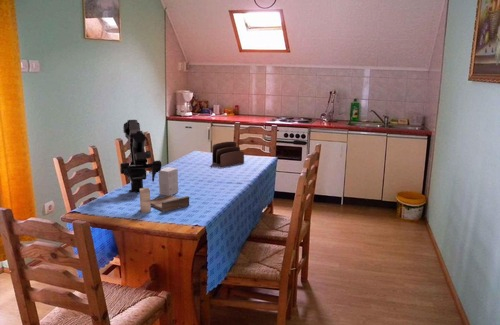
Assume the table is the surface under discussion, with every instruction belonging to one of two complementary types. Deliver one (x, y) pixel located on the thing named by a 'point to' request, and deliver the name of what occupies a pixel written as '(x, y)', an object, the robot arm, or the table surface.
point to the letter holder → (226, 154)
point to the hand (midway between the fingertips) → (143, 182)
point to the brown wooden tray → (169, 202)
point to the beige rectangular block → (145, 200)
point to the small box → (168, 181)
